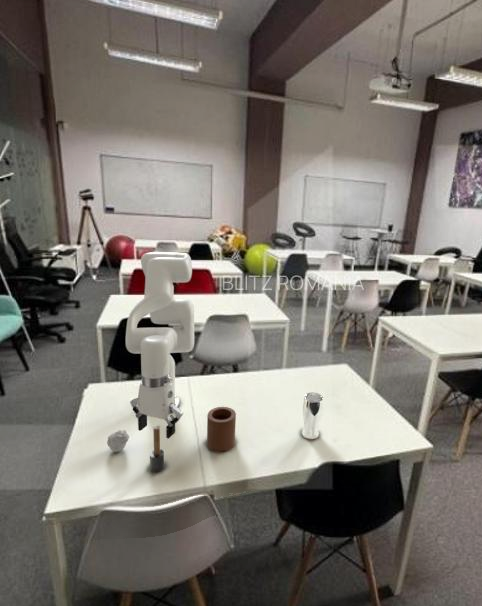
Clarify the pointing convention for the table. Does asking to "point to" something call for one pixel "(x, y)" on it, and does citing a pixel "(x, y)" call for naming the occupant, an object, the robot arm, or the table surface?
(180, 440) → the table surface
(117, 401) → the table surface
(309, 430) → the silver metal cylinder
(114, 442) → the grey crumpled ball
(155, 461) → the brush
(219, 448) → the cylindrical holder
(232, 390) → the table surface
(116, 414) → the table surface
